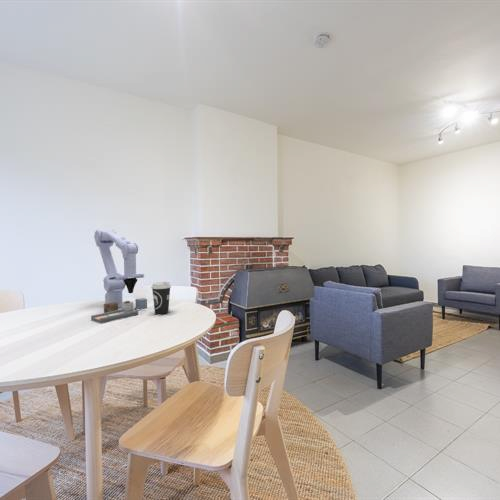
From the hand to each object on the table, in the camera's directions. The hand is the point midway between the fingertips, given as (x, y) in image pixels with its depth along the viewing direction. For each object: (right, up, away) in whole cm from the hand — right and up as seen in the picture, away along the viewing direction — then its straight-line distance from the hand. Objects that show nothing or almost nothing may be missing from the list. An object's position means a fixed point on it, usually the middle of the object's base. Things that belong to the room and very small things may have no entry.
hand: (130, 292), depth 147 cm
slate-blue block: (+3, -9, +6) cm, 12 cm away
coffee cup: (+17, -10, -4) cm, 20 cm away
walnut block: (-8, -10, -4) cm, 13 cm away
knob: (+1, -8, -7) cm, 11 cm away
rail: (-2, -10, -12) cm, 16 cm away
